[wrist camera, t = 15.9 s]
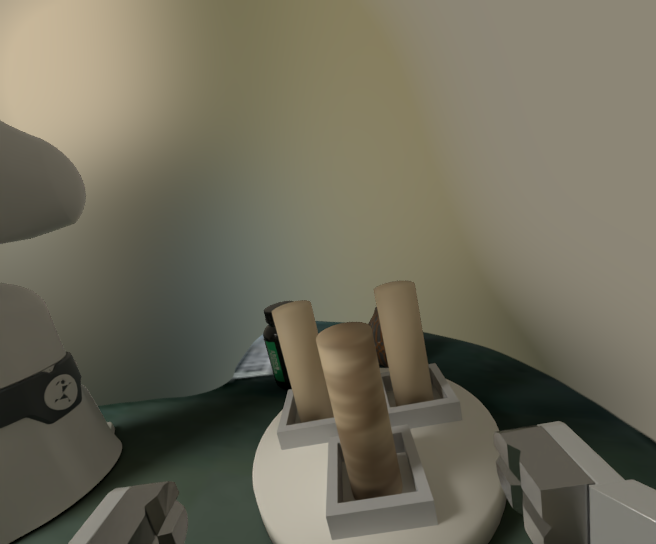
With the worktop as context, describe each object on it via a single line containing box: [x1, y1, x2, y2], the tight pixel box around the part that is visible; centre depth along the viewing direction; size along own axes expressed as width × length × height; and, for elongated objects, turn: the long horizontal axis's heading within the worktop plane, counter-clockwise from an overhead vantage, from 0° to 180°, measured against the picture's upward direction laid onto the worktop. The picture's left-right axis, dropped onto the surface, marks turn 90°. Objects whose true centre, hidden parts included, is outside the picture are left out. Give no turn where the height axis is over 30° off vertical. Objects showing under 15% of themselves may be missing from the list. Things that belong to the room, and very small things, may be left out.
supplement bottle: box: [263, 301, 294, 390], centre depth 47 cm, size 7×7×12 cm
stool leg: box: [316, 322, 403, 501], centre depth 23 cm, size 4×4×13 cm
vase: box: [368, 307, 388, 367], centre depth 46 cm, size 7×7×9 cm
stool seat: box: [252, 281, 507, 544], centre depth 29 cm, size 23×23×16 cm
